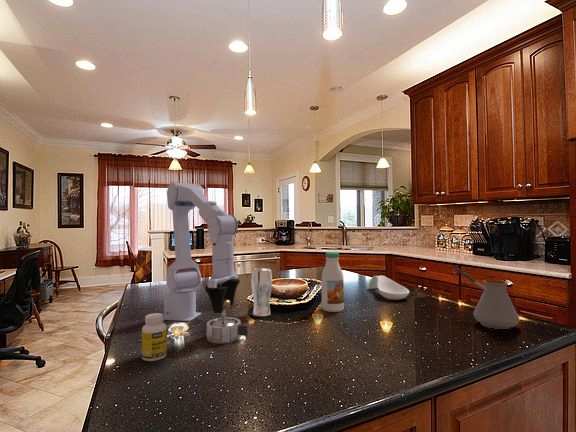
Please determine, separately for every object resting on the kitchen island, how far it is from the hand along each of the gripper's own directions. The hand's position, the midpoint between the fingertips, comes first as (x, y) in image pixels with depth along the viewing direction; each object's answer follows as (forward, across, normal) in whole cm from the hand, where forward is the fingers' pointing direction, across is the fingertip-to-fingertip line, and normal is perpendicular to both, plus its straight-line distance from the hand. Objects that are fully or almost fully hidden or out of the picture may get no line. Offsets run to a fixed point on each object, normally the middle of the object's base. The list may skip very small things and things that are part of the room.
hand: (223, 308), depth 89 cm
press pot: (+8, 0, -1) cm, 8 cm away
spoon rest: (+8, +57, -47) cm, 74 cm away
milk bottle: (+8, +32, -27) cm, 43 cm away
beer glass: (+8, +22, -4) cm, 24 cm away
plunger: (+4, 0, 0) cm, 4 cm away
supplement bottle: (+8, -15, +11) cm, 20 cm away
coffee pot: (+8, +28, -73) cm, 79 cm away
